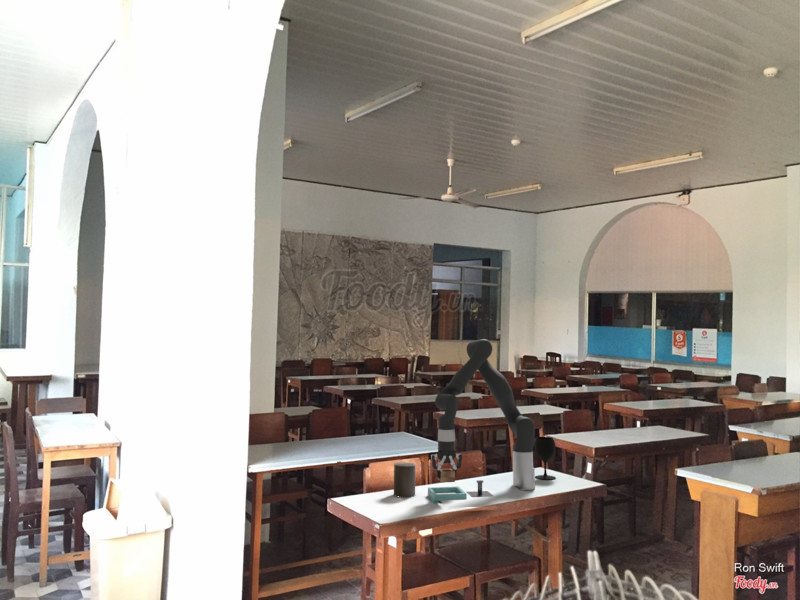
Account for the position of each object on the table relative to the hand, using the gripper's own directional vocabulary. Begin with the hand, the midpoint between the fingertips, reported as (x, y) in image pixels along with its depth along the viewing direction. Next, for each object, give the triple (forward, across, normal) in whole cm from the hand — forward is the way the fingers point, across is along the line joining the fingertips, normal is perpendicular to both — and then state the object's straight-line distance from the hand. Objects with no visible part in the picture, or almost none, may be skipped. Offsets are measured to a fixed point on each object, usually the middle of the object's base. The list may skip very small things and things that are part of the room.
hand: (446, 478), depth 279 cm
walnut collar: (+1, 0, 0) cm, 1 cm away
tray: (+9, 0, 0) cm, 9 cm away
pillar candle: (+9, +17, -10) cm, 22 cm away
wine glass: (+9, -59, -34) cm, 69 cm away
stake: (+9, -15, 0) cm, 17 cm away
